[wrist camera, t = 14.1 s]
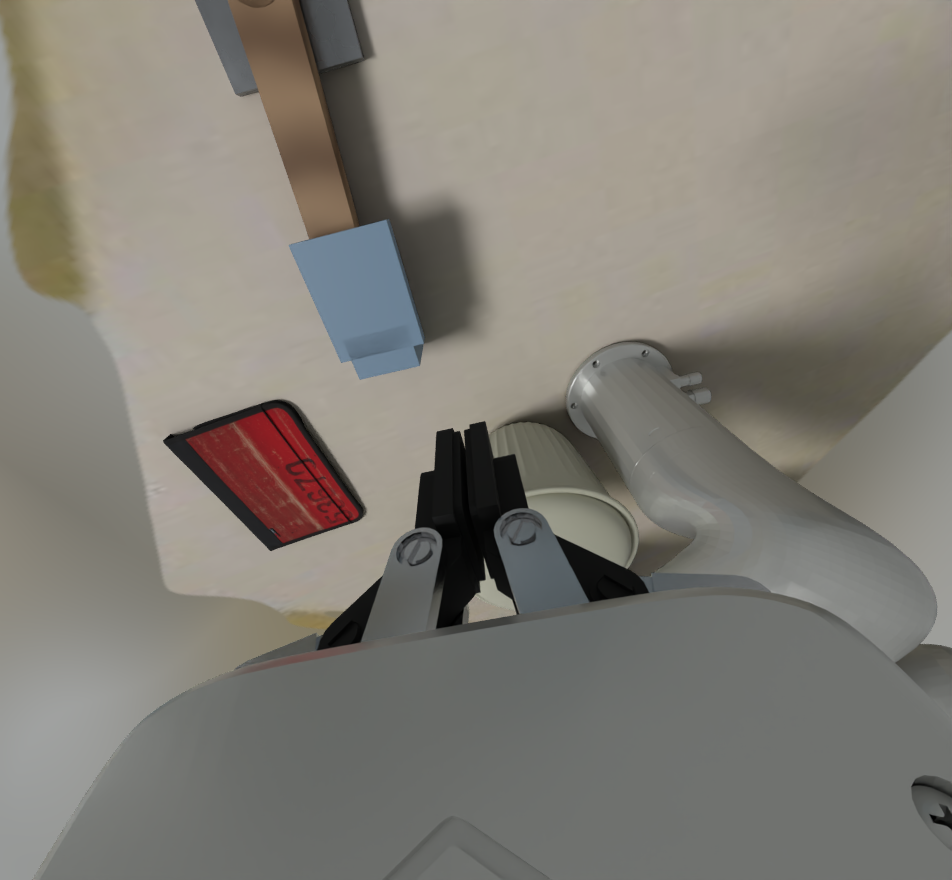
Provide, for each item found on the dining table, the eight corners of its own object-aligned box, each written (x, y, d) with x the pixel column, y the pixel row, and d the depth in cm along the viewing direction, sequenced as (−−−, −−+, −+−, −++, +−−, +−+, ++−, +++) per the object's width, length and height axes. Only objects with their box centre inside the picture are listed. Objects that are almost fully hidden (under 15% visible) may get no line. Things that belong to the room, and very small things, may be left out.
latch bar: (210, -75, 23) (168, -123, 20) (279, -88, 23) (248, -138, 19) (337, 303, 36) (325, 315, 33) (381, 296, 36) (373, 307, 32)
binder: (269, 553, 54) (158, 442, 43) (274, 540, 56) (170, 432, 45) (368, 521, 53) (282, 398, 41) (371, 510, 55) (288, 389, 43)
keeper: (395, 216, 33) (386, 219, 28) (432, 342, 40) (429, 363, 35) (312, 237, 34) (288, 245, 29) (362, 358, 40) (349, 381, 35)
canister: (580, 500, 54) (643, 644, 37) (459, 512, 54) (464, 663, 37) (592, 390, 44) (685, 518, 27) (443, 405, 44) (439, 543, 27)
